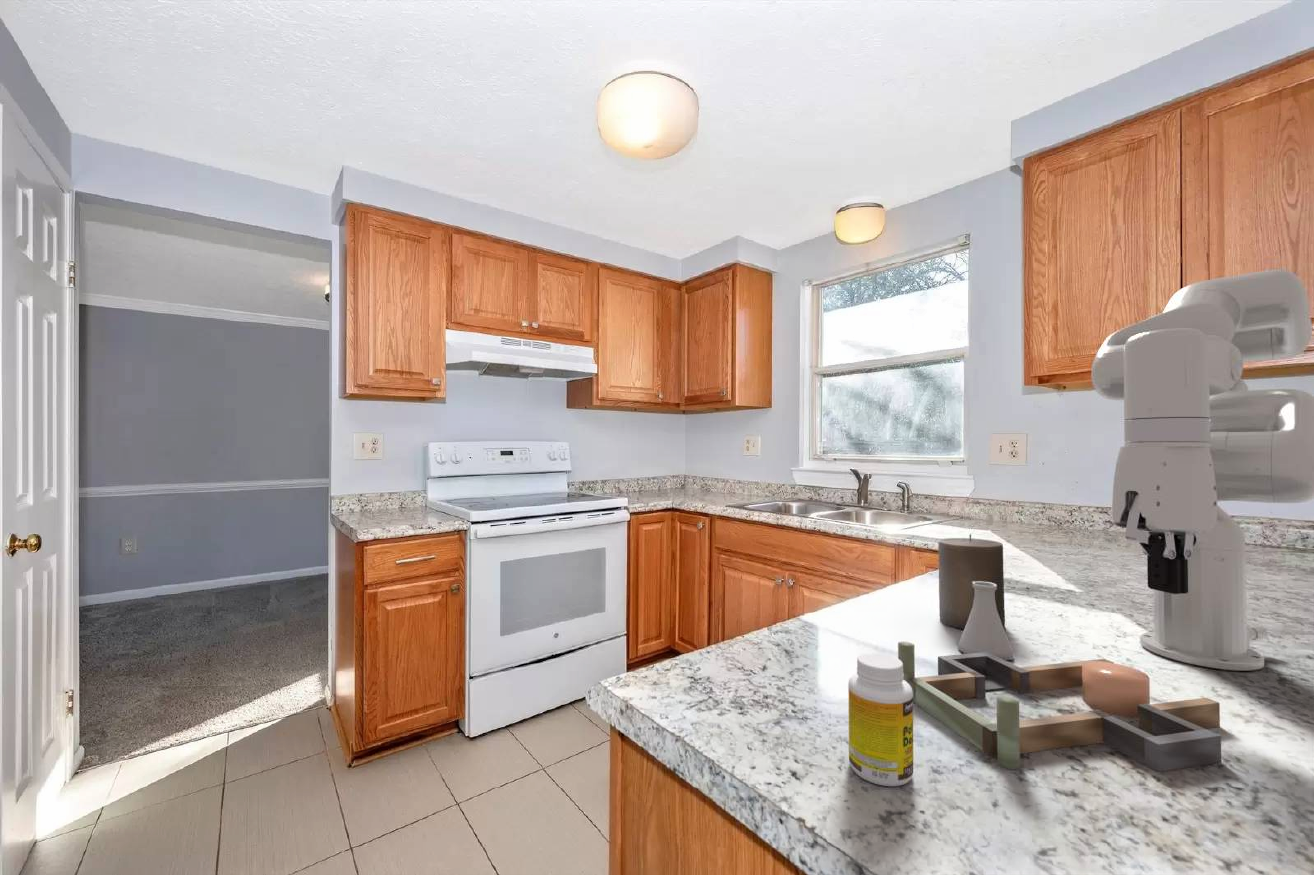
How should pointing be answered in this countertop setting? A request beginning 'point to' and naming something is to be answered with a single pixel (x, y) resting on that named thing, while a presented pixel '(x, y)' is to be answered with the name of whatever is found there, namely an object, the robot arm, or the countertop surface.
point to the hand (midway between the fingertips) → (1167, 590)
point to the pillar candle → (968, 576)
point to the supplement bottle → (881, 721)
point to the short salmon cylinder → (1114, 688)
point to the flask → (985, 625)
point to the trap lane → (1158, 741)
